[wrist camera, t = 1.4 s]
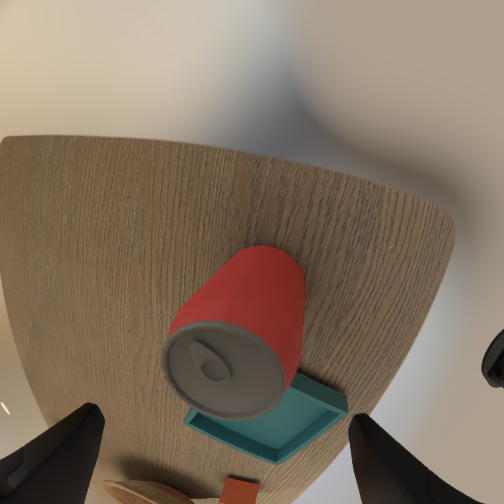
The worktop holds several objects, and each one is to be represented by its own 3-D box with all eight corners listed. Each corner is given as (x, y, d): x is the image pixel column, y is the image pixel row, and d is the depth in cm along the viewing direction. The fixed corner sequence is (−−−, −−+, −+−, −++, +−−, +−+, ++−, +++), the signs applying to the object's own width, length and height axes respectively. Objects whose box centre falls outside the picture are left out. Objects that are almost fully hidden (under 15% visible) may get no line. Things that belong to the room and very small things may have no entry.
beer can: (278, 227, 21) (240, 281, 10) (320, 299, 22) (324, 407, 10) (208, 268, 23) (124, 342, 12) (251, 332, 24) (206, 437, 12)
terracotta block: (259, 484, 31) (253, 509, 26) (253, 495, 32) (248, 518, 28) (226, 477, 32) (218, 502, 27) (223, 488, 33) (216, 511, 28)
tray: (346, 395, 24) (348, 412, 22) (279, 450, 28) (277, 465, 25) (239, 340, 24) (232, 356, 22) (189, 408, 28) (182, 422, 26)
